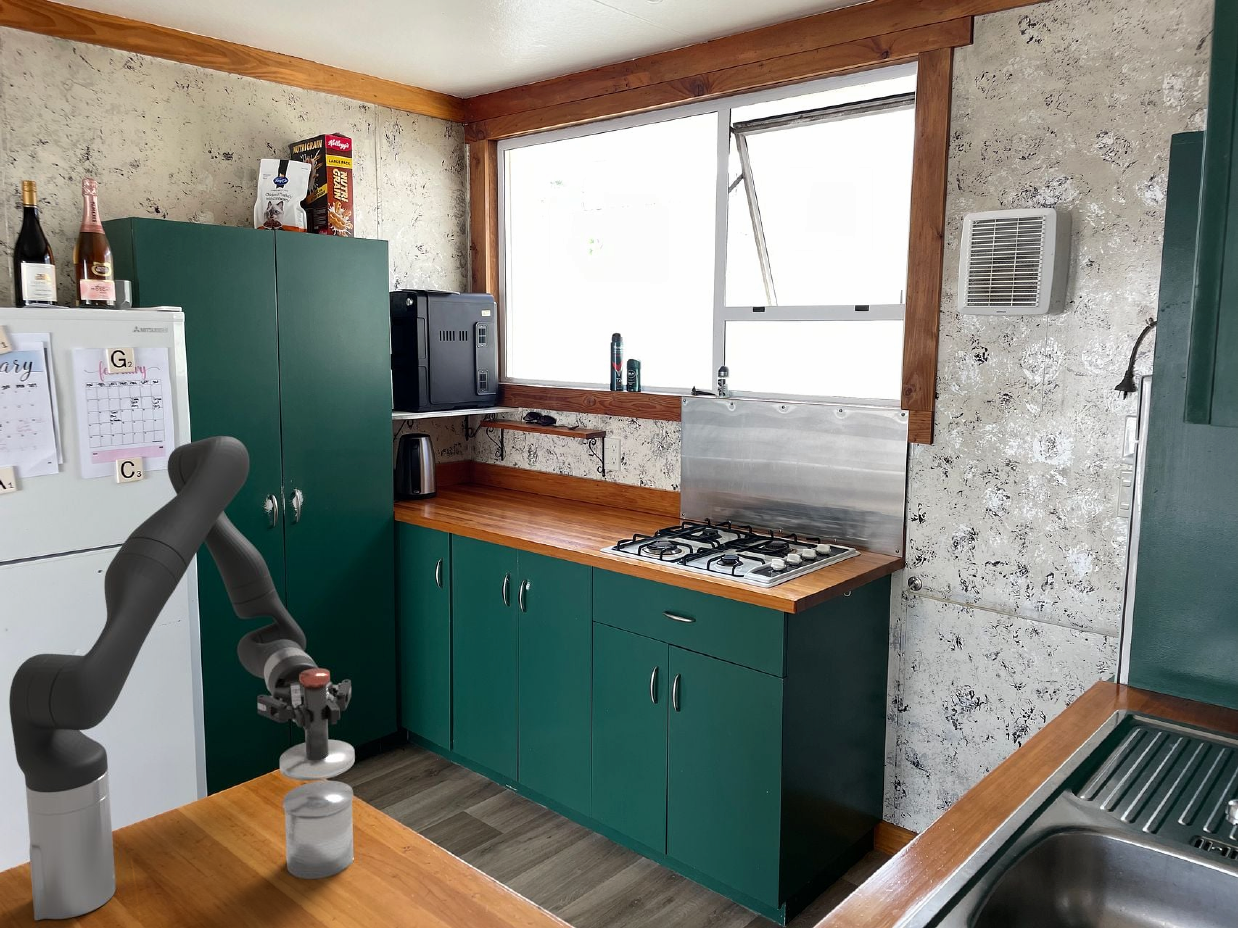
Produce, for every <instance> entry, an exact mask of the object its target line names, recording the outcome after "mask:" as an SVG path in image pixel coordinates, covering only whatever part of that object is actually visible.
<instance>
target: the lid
mask: <svg viewBox="0 0 1238 928" xmlns="http://www.w3.org/2000/svg"><path fill="white" fill-rule="evenodd" d="M330 673H331V672H330V670H328V669H326V668H319V667H318V668H316V669H309V670H305V671H303V672H301V673H300V674H299V680H300V685H301V686H303V687H304V707H305V708H306V709H307V711H308V713H309V714H310V729H308V730H304V733H305V734H304V735H305V742H303V743H299V744H296V745H294V746H292V747H290V748H288V749H286V750H285V751H284V752H283V753H282V754H281V755H280V758H279V772H280V774H282V775H283V776H284V777H285V778H289V779H291V780H295V781H307V782H311V781H313V782H314V781H322V780H326V779H329V778H333V777H337V776H338V775H339V776H340V775H341V774H343V773H346V771H348V770H349V769H351V767H352V766H354V763H355V759H356V755H355V748H354V746H352V745H351V744H350V743H348V742H345V741H343V740H342V741H341V740H339V739H338V740H337V739H336V740H335V739H329V728H328V726H329V725H328V724H329V723H328V721H329V720H328V719H327V690H326V684H328V683H329V682H331V674H330Z"/></svg>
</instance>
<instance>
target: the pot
mask: <svg viewBox="0 0 1238 928" xmlns="http://www.w3.org/2000/svg"><path fill="white" fill-rule="evenodd" d="M353 801H354V790H353V788H352V787H351V786H350V785H349V784H347V783H344V782H342V781H337V780H316V781H313V782H309V783H305V784H302V785H299V786H297V787H295V788H293V789H291V790H290V791H289V792H287V793H286V794H285V796H284V797H283V799H282V806H283V810H284V814H285V815H284V817H285V818H284V819H285V820H284V821H285V822H284V823H285V840H286V841H285V844H286V845H285V846H286V848H285V849H286V868H287V871H288V872H289V874H291V875H292V876H294V877H297V878H299V879H304V880H305V879H306V880H314V879H316V880H317V879H323V878H328V877H332V876H334V875H336V874H339V873H341V872H342V871H344V870H346V869H347V868H348V867H349V866H350V865H351V864H352V862H353V860H354V830H353V827H354V826H353V825H354V824H353Z"/></svg>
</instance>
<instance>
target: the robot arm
mask: <svg viewBox="0 0 1238 928" xmlns="http://www.w3.org/2000/svg"><path fill="white" fill-rule="evenodd" d="M250 464H251V463H250V455H249V453H248V450H247V448H246V446H245V445H244V444H243V442H241V441H240V440H238V439H237V438H235V437H232V436H226V435H225V436H224V435H220V436H219V435H218V436H211V437H208V438H205V439H201V440H197V441H193V442H189V443H185V444H182V445H180V446H178V447H176V448H175V449H174V450H172V452H171V453H170V455H169V457H168V460H167V466H166V467H167V473H168V478H169V481H170V483H171V485H172V488H173V490H174V492H175V494H176V495H175V496H173V498H172V499H170V500H169V501H168V502H167V503H166V504H165V505H163V506H162V507H161V508H159V509H158V510H157V511H155V512H154V513H152V514H151V515H150V516H149V517H148V518H146V520H144V521H143V522H142V523H141V524H139V526H138V527H136V528H135V529H134V530H133V531H132V533H130V535H129V536H128V537H127V538H126V540H125V541H124V542H123V544H122V545H121V547H120V548H119V550H118V551H117V553H116V554H115V555H114V557H113V558H112V559H111V561H110V564H109V565H108V567H107V570H106V571H105V575H104V586H103V587H104V599H105V605H106V621H105V624H104V627H103V629H102V631H101V633H100V634H99V636H98V638H97V640H96V641H95V642H94V644H93V646H92V647H91V648H90V650H89V651H88V652H86V654H84V655H78V654H60V653H40V654H39V653H38V654H36V655H33V656H31V657H29V658H27V659H26V660H25V661H24V662H23V663H22V664H21V665H20V666H19V667H18V669H17V670H16V672H15V674H14V676H13V678H12V681H11V685H10V689H9V690H10V691H9V699H8V700H9V702H8V703H9V715H10V724H11V730H12V736H13V745H14V752H15V757H16V762H17V765H18V767H19V769H20V770H21V772H22V773H23V774H24V782H25V792H26V793H25V794H26V795H25V796H26V806H27V808H26V809H27V821H28V832H29V835H28V837H29V865H30V875H31V876H30V877H31V888H32V889H31V890H32V891H31V892H32V903H33V914H34V915H33V916H34V921H40V920H45V919H48V920H50V919H51V920H63V919H70V918H75V917H79V916H81V915H84V914H88V913H90V912H92V911H94V910H97V909H98V908H100V907H101V906H103V905H105V904H106V903H107V902H108V901H110V899H112V897H113V896H114V894H115V892H116V871H115V860H114V859H115V857H114V856H115V855H114V844H113V828H112V826H113V825H112V814H111V813H112V812H111V800H110V799H111V798H110V795H111V794H110V782H109V781H110V779H109V764H108V754H107V753H108V752H107V749H106V748H105V747H104V746H103V744H101V743H100V742H98V741H97V740H94V739H93V738H91V737H89V736H87V735H85V734H84V733H83V732H82V731H87V730H91V729H93V728H95V727H97V726H98V725H100V724H101V723H102V722H103V721H104V720H105V718H106V717H107V716H108V714H109V713H110V712H111V710H112V709H113V708H114V705H115V704H116V702H117V700H118V699H119V697H120V695H121V693H122V690H123V688H124V686H125V684H126V681H127V679H128V677H129V675H130V673H131V671H132V668H133V667H134V664H135V662H136V660H137V658H138V655H139V654H140V651H141V648H142V647H143V644H144V643H145V641H146V639H147V637H148V635H149V634H150V632H151V630H152V628H153V626H154V624H155V623H156V621H157V619H158V618H159V616H160V614H161V612H162V611H163V609H164V607H165V606H166V604H167V602H168V600H169V599H170V597H171V596H172V594H173V593H174V592H175V590H176V589H177V587H178V585H179V584H180V581H181V580H182V579H183V576H184V575H185V574H186V572H187V570H188V568H189V566H190V564H191V562H192V560H193V559H194V557H195V555H196V554H197V552H198V550H199V549H200V547H201V545H202V544H203V542H204V544H205V546H206V547H207V549H208V550H209V552H210V555H211V556H212V558H213V560H214V562H215V564H216V567H217V569H218V571H219V574H220V576H221V579H222V581H223V584H224V586H225V589H226V593H227V594H228V597H229V599H230V602H231V605H232V607H233V610H234V613H235V614H236V616H238V618H239V619H241V620H242V619H243V620H248V619H255V618H259V617H260V618H261V617H269V618H272V619H273V620H274V622H272V623H271V624H268V625H265V626H262V627H260V628H258V629H255V630H253V631H250V632H248V633H246V634H245V635H244V636H243V637H242V638H241V639H240V640H239V643H238V644H237V655H238V658H239V662H240V663H241V665H242V667H244V668H245V670H246V671H247V672H249V673H250V674H252V675H253V676H254V677H258V678H260V679H264V681H265V686H266V688H267V690H268V691H269V693H270V694H271V695H267V694H259V695H257V714H258V715H261V716H263V717H265V718H268V719H270V720H273V721H275V722H277V723H281V724H282V723H287V722H288V720H292V722H294V723H296V725H297V727H298V728H303V730H304V731H305V730H308V729H310V714H309V713H308V711H307V709H306V708H305V707H304V687H303V686H301V685H300V680H299V674H300V673H301V672H303V671H305V670H309V669H316V668H319V667H318V665H317V664H316V662H315V661H314V659H312V657H311V656H310V655H309V654H308V653H306V652H305V650H306V648H307V639H306V636H305V635H306V634H304V631H303V630H302V629H301V627H300V626H299V624H298V623H297V622H296V620H295V619H294V618H293V617H292V615H291V614H290V613H289V611H288V610H287V609H286V607H285V606H284V604H283V603H282V600H281V599H280V597H279V594H278V592H277V589H276V587H275V584H274V581H273V579H272V576H271V573H270V570H269V569H268V565H267V564H266V563H267V562H266V561H265V559H264V558H263V555H262V554H261V553H260V552H259V550H258V549H257V548H256V547H255V546H254V545H253V544H252V542H250V541H249V540H248V539H247V538H246V537H245V535H243V534H242V533H241V532H240V531H239V530H238V528H236V526H234V524H233V523H232V522H231V520H230V519H229V518H228V516H227V515H226V513H225V509H226V508H227V507H228V505H229V504H230V503H231V501H233V499H235V496H237V494H238V492H239V491H240V490H241V489H242V487H243V486H244V484H245V483H246V480H247V478H248V475H249V472H250ZM326 690H327V720H328V721H329V723H330V725H331V726H332V725H336V724H338V721H340V719H341V712H345V711H346V710H347V707H348V705H349V703H350V700H351V698H352V681H351V679H344V680H342V682H341V683H340V682H339V683H338V684H333V682H332V681H330V682H329V683H328V684H326ZM333 694H335V696H334V695H333Z"/></svg>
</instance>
